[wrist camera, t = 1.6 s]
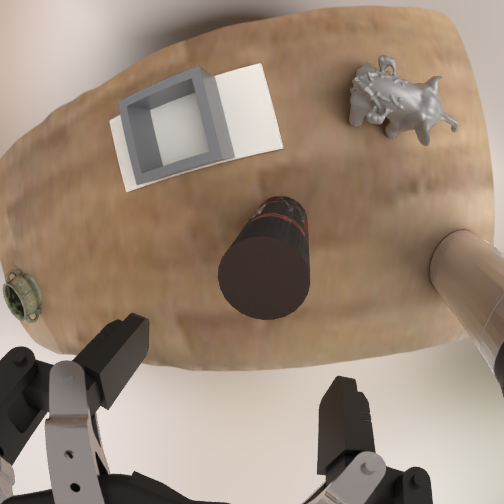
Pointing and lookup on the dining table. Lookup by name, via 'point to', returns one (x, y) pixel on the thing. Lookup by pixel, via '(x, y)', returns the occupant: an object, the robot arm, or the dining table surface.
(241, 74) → the socket stand
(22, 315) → the vessel
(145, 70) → the dining table surface
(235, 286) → the deodorant
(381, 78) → the gray elephant figurine
